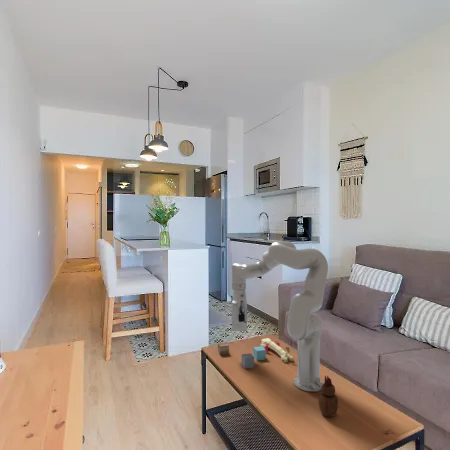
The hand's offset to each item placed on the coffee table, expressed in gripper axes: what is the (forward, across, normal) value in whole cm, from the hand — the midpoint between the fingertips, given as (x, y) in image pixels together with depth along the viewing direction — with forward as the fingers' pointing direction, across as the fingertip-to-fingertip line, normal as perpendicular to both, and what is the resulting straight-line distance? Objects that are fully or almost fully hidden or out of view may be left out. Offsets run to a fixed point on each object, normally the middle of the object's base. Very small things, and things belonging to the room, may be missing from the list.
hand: (239, 319), depth 165 cm
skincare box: (+6, 0, 0) cm, 6 cm away
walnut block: (+20, +7, +8) cm, 22 cm away
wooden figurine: (+21, -56, -16) cm, 62 cm away
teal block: (+20, -4, -10) cm, 23 cm away
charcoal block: (+20, -11, 0) cm, 23 cm away
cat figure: (+21, -1, -20) cm, 29 cm away
